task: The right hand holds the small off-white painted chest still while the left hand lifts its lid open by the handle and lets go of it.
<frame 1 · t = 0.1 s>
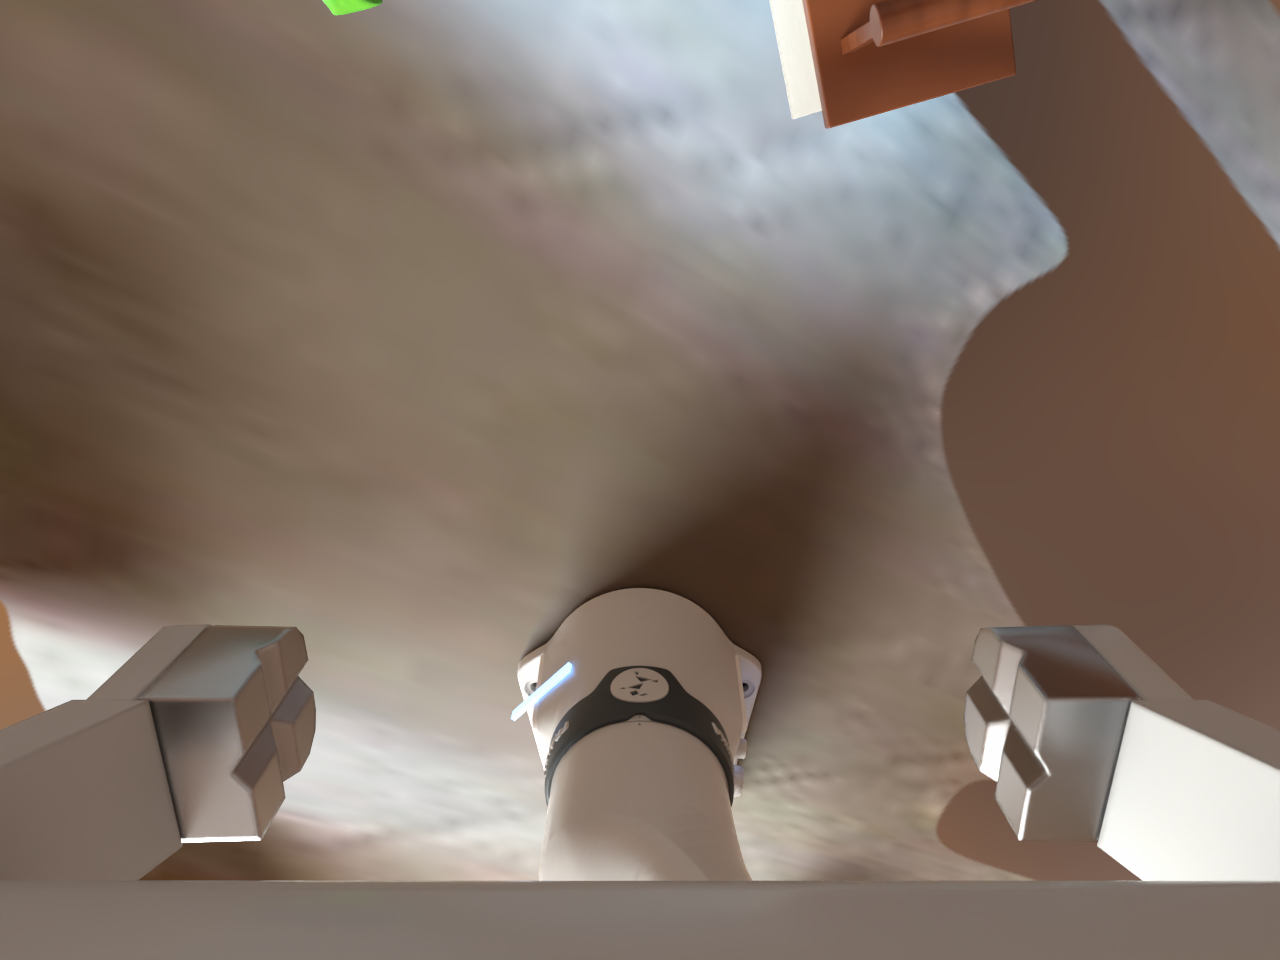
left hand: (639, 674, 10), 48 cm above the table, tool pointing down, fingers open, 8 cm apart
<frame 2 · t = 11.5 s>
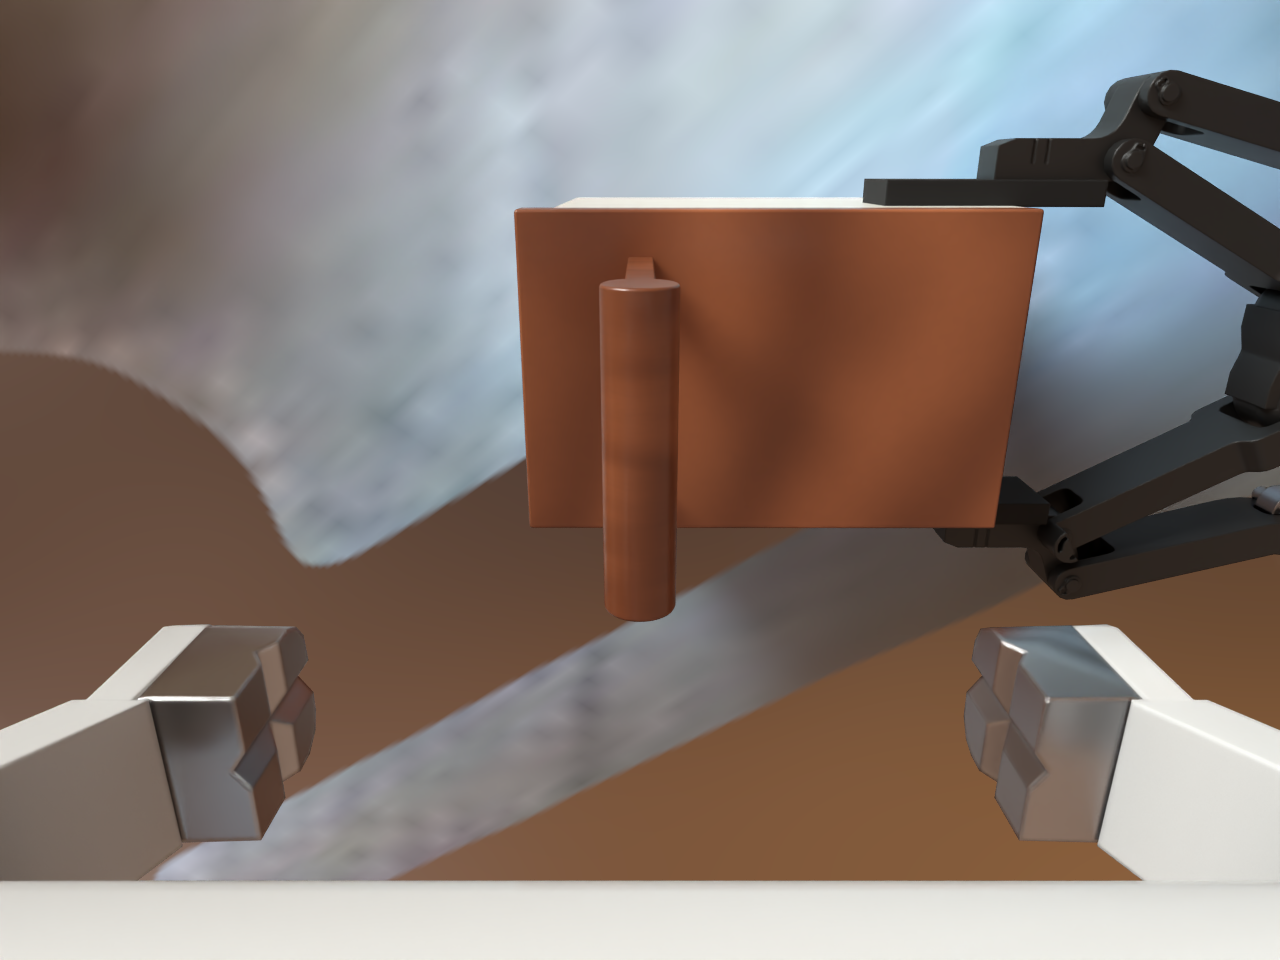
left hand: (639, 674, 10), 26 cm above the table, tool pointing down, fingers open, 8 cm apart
right hand: (859, 355, 28), fingers closed on chest, 9 cm apart
chest: (746, 321, 34), on the table, touching right hand
lid: (788, 410, 22), point 13 cm above the table, hinge at 0.0°
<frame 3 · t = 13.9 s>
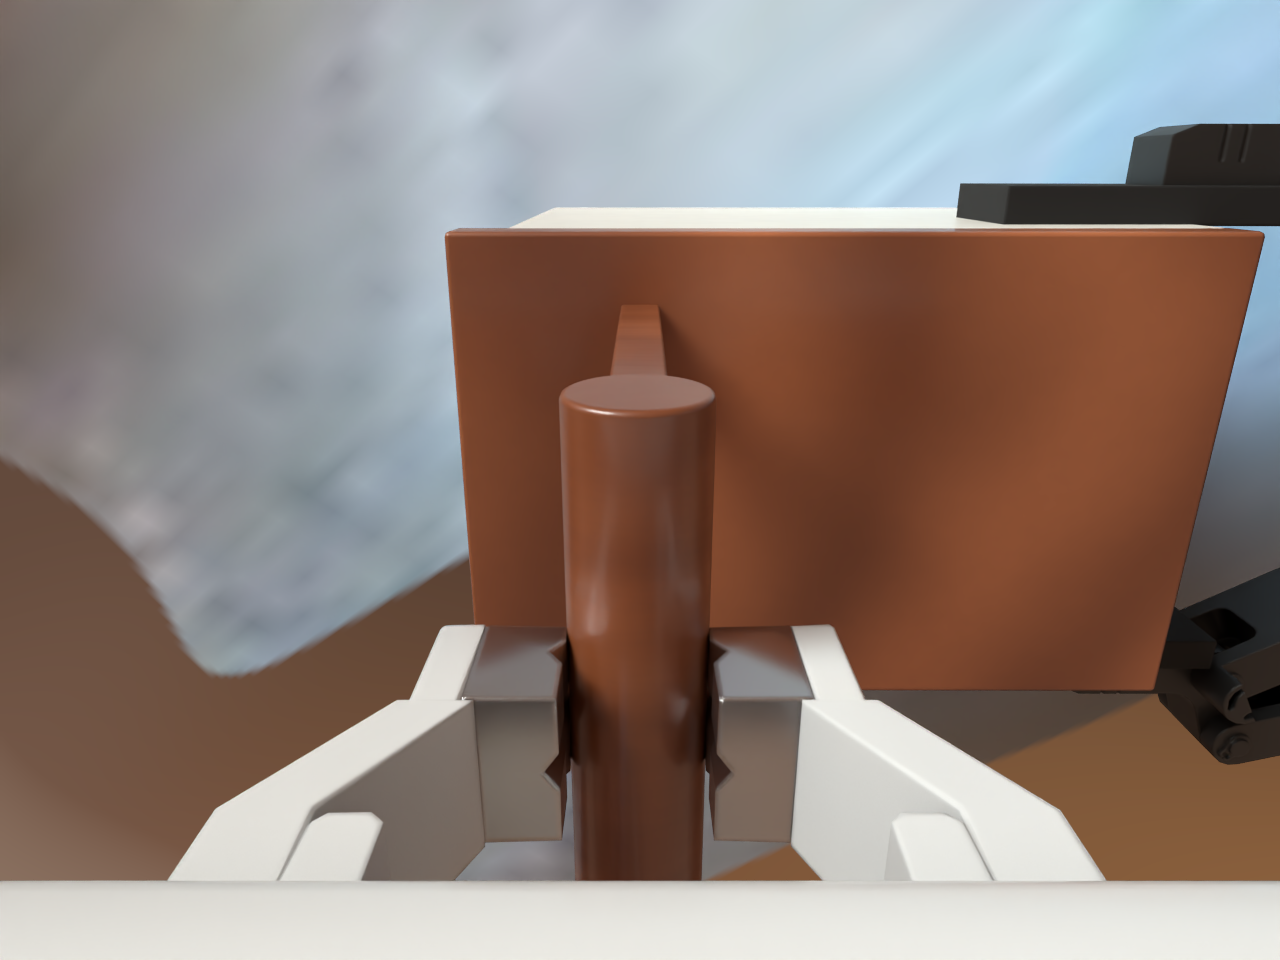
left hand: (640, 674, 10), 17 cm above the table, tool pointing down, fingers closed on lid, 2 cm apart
chest: (779, 370, 26), on the table, touching right hand
lid: (879, 559, 13), point 13 cm above the table, hinge at -0.1°, touching left hand
when the right hand's fingers open (7 cm above the table, at t = 20.9 s): chest stays where it is, on the table.
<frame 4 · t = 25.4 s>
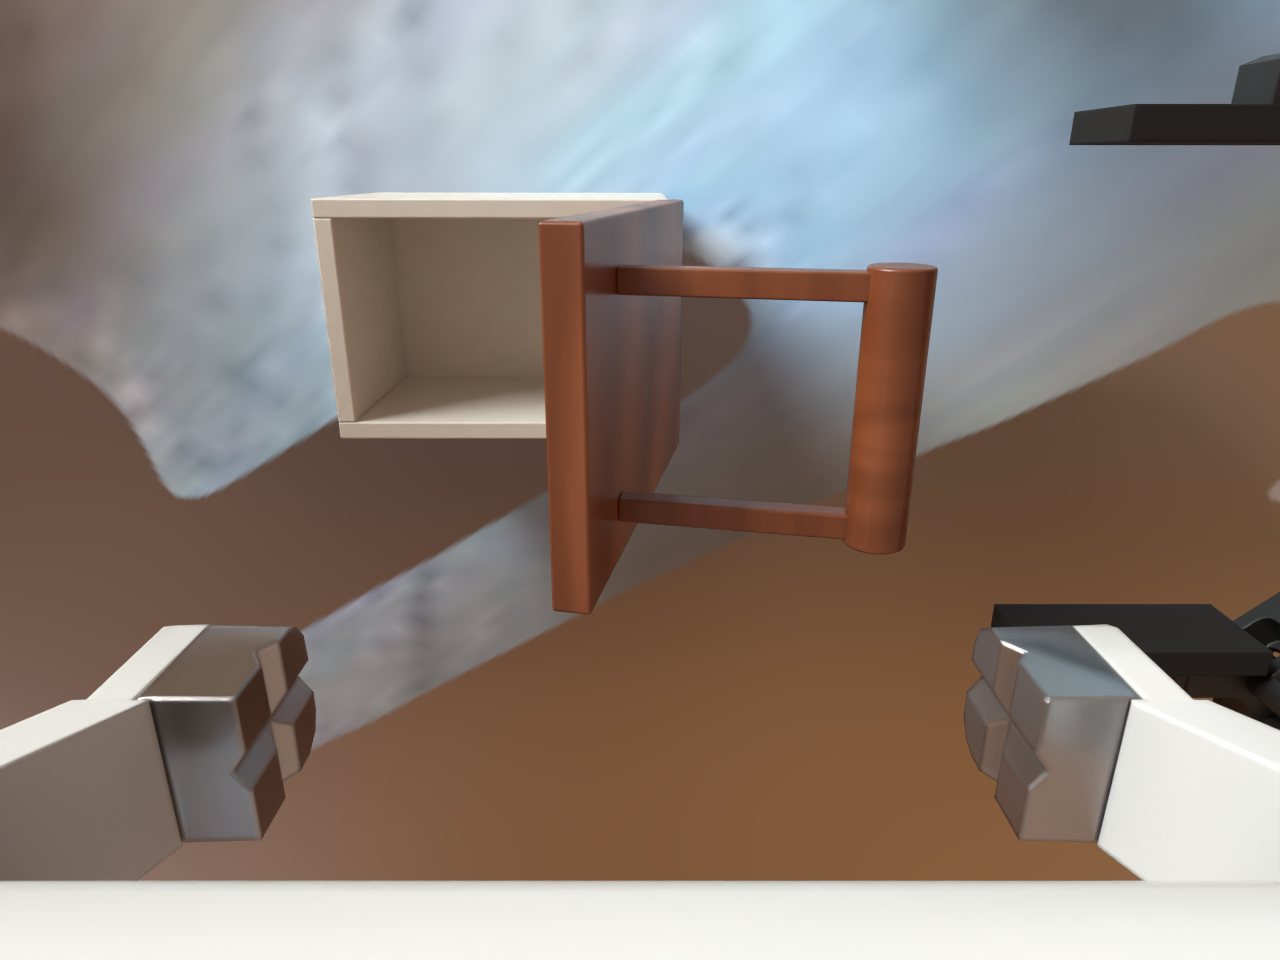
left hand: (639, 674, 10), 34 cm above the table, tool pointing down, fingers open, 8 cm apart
chest: (525, 293, 42), on the table
lid: (755, 373, 26), point 17 cm above the table, hinge at 78.5°
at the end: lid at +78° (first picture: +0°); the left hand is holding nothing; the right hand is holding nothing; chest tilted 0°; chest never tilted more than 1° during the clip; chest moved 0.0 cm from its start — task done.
